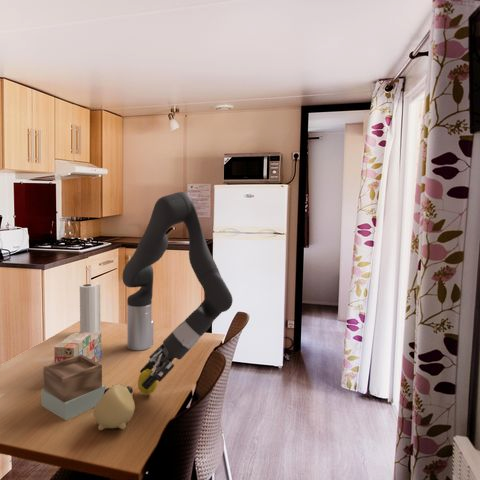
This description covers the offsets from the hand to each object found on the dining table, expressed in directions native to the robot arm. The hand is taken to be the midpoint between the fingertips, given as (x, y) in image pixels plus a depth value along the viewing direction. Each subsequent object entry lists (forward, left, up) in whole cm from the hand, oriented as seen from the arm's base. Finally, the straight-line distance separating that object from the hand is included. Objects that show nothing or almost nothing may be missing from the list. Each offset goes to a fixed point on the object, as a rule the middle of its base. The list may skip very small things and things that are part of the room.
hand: (143, 380), depth 111 cm
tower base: (+15, -12, -5) cm, 20 cm away
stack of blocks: (+1, -30, -5) cm, 30 cm away
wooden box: (+15, -12, 0) cm, 19 cm away
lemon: (-1, +1, -5) cm, 5 cm away
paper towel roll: (-21, -57, -5) cm, 61 cm away
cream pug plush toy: (+14, +5, -5) cm, 16 cm away
